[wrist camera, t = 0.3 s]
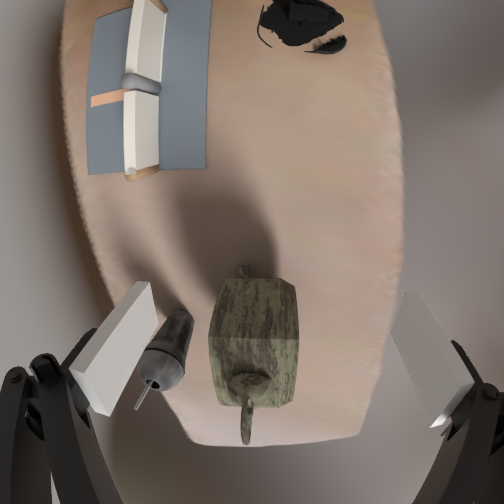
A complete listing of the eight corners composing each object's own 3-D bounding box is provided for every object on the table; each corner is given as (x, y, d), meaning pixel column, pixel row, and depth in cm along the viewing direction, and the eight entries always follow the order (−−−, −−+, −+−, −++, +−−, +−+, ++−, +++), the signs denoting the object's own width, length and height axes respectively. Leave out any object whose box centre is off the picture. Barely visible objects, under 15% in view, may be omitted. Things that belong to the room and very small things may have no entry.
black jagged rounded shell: (257, 51, 30) (254, 40, 26) (258, -3, 26) (255, -18, 22) (344, 58, 29) (353, 49, 25) (341, 4, 25) (349, -10, 21)
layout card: (96, 20, 27) (95, 19, 26) (212, -8, 25) (212, -9, 25) (89, 174, 38) (88, 175, 37) (206, 168, 37) (205, 168, 36)
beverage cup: (208, 332, 48) (179, 424, 30) (174, 338, 49) (137, 423, 31) (191, 299, 45) (148, 391, 27) (156, 307, 47) (106, 391, 28)
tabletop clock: (231, 256, 42) (185, 391, 19) (292, 256, 41) (306, 398, 18) (237, 332, 47) (211, 461, 24) (289, 333, 46) (291, 466, 24)
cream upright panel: (148, 98, 32) (123, 92, 26) (159, 96, 32) (136, 90, 26) (148, 173, 37) (124, 181, 30) (159, 172, 36) (137, 181, 30)
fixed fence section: (157, 8, 27) (132, -13, 19) (169, 6, 26) (146, -17, 19) (149, 96, 33) (119, 89, 25) (162, 95, 33) (134, 86, 25)
